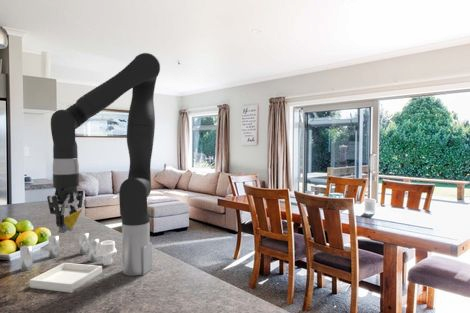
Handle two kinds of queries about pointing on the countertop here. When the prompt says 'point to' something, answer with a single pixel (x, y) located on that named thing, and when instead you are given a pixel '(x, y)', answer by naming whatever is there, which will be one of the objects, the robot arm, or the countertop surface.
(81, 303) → the countertop surface
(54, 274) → the tray
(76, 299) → the countertop surface
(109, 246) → the pipe fitting
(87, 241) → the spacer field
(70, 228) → the stepped yellow cone
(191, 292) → the countertop surface
